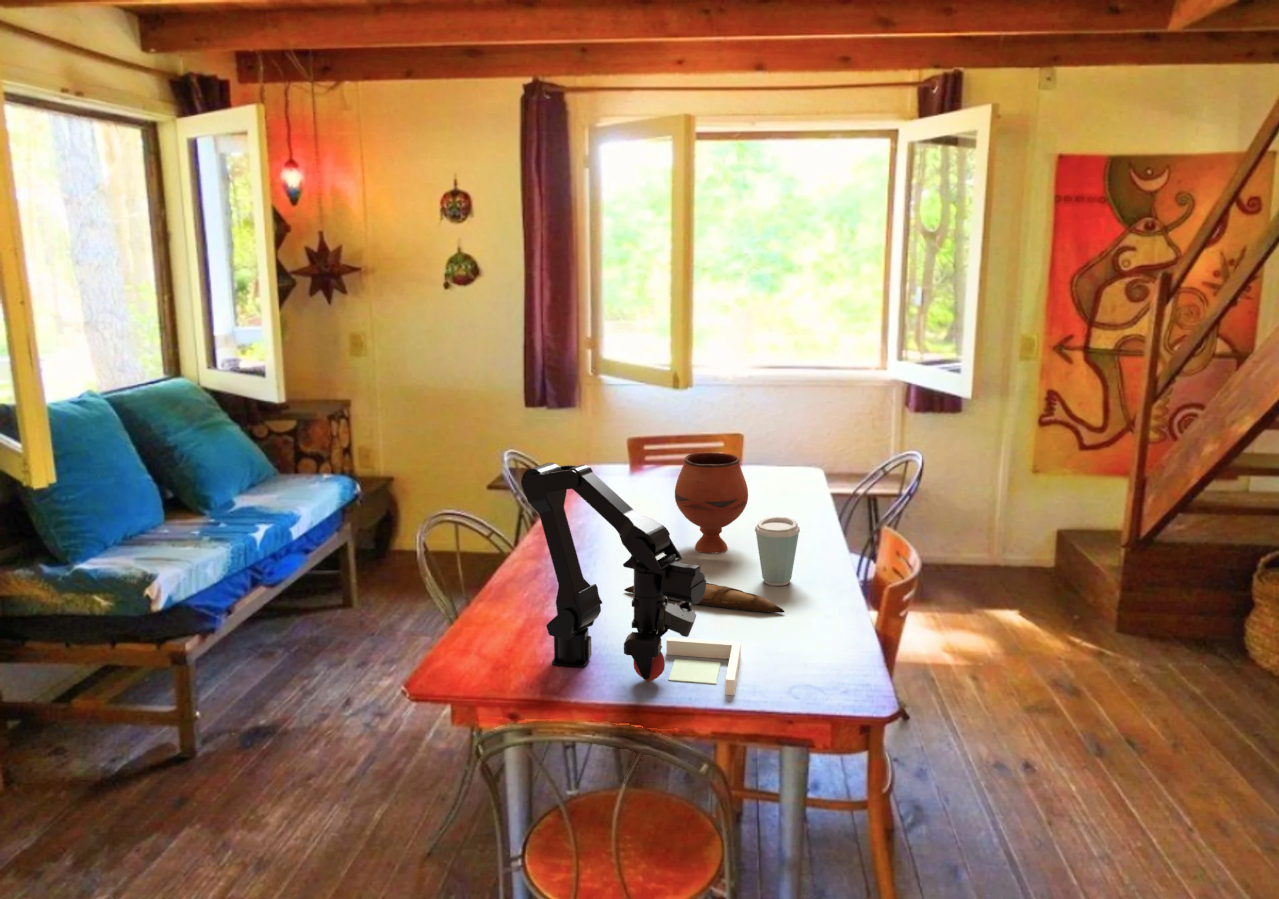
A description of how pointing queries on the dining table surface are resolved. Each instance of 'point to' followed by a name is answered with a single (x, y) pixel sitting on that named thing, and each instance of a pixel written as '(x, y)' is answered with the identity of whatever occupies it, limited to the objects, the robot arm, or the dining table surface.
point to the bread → (732, 599)
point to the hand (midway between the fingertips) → (649, 671)
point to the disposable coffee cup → (777, 548)
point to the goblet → (711, 495)
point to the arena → (704, 669)
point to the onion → (654, 667)
